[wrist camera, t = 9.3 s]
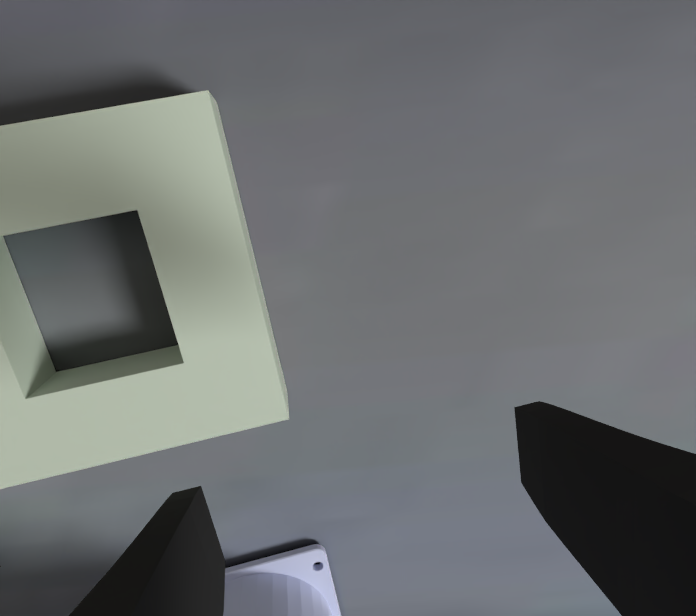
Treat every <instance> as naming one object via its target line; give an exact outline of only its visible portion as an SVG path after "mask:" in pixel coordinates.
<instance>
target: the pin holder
mask: <svg viewBox="0 0 696 616" xmlns="http://www.w3.org/2000/svg"><path fill="white" fill-rule="evenodd" d="M134 210H137V211H138V214H139V217H140V221H141V224H142V227H143V230H144V234H145V237H146V240H147V244H148V247H149V250H150V253H151V257H152V260H153V263H154V266H155V270H156V273H157V276H158V279H159V283H160V286H161V289H162V293H163V296H164V299H165V302H166V306H167V309H168V312H169V315H170V319H171V322H172V325H173V329H174V332H175V335H176V338H177V342H178V345H176V346H171V347H167V348H162V349H158V350H153V351H149V352H144V353H140V354H135V355H131V356H126V357H122V358H117V359H113V360H108V361H104V362H99V363H94V364H90V365H85V366H81V367H76V368H72V369H67V370H63V371H58V372H56V370H55V368H54V365H53V363H52V360H51V358H50V355H49V353H48V350H47V347H46V345H45V342H44V340H43V337H42V335H41V332H40V330H39V327H38V324H37V322H36V319H35V317H34V314H33V312H32V309H31V307H30V304H29V301H28V299H27V296H26V294H25V291H24V289H23V286H22V284H21V281H20V278H19V276H18V273H17V271H16V268H15V266H14V263H13V261H12V258H11V255H10V253H9V250H8V248H7V245H6V243H5V240H4V238H3V236H4V235H10V234H15V233H20V232H25V231H30V230H36V229H41V228H46V227H51V226H56V225H62V224H67V223H72V222H77V221H82V220H87V219H93V218H98V217H103V216H108V215H113V214H119V213H124V212H129V211H134ZM287 419H289V410H288V395H287V389H286V385H285V381H284V376H283V372H282V368H281V364H280V360H279V356H278V352H277V348H276V344H275V339H274V335H273V331H272V327H271V323H270V319H269V315H268V311H267V307H266V302H265V298H264V294H263V290H262V286H261V282H260V278H259V274H258V270H257V265H256V261H255V257H254V253H253V249H252V245H251V241H250V237H249V233H248V228H247V224H246V220H245V216H244V212H243V208H242V204H241V200H240V196H239V191H238V187H237V183H236V179H235V175H234V171H233V167H232V163H231V159H230V154H229V150H228V146H227V142H226V138H225V134H224V130H223V126H222V122H221V117H220V113H219V109H218V105H217V102H216V101H215V99H214V98H213V97H212V95H211V94H210V92H209V91H208V90H207V91H201V92H195V93H189V94H184V95H178V96H172V97H166V98H160V99H154V100H148V101H143V102H137V103H131V104H125V105H119V106H113V107H108V108H102V109H96V110H90V111H84V112H78V113H72V114H67V115H61V116H55V117H49V118H43V119H37V120H31V121H26V122H20V123H14V124H8V125H2V126H0V489H3V488H7V487H11V486H15V485H19V484H23V483H27V482H32V481H36V480H40V479H44V478H48V477H52V476H56V475H60V474H65V473H69V472H73V471H77V470H81V469H85V468H89V467H93V466H98V465H102V464H106V463H110V462H114V461H118V460H122V459H127V458H131V457H135V456H139V455H143V454H147V453H151V452H155V451H160V450H164V449H168V448H172V447H176V446H180V445H184V444H188V443H193V442H197V441H201V440H205V439H209V438H213V437H217V436H221V435H226V434H230V433H234V432H238V431H242V430H246V429H250V428H254V427H259V426H263V425H267V424H271V423H275V422H279V421H283V420H287Z"/></svg>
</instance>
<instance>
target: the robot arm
mask: <svg viewBox="0 0 696 616" xmlns="http://www.w3.org/2000/svg"><path fill="white" fill-rule="evenodd" d="M515 418H516V429H517V440H518V451H519V462H520V473H521V483H522V484H523V486H524V488H525V489H526V491H527V492H528V494H529V496H530V497H531V499H532V501H533V502H534V504H535V506H536V507H537V509H538V510H539V512H540V513H541V515H542V516H543V518H544V520H545V521H546V522H547V524H548V525H549V526H550V527H551V529H552V530H553V531H554V533H555V534H556V535H557V536H558V538H559V539H560V540H561V541H562V543H563V544H564V545H565V546H566V547H567V549H568V550H569V551H570V552H571V554H572V555H573V556H574V557H575V559H576V560H577V561H578V562H579V563H580V565H581V566H582V567H583V568H584V570H585V571H586V572H587V573H588V574H589V576H590V577H591V578H592V579H593V581H594V582H595V583H596V584H597V586H598V587H599V588H600V589H601V590H602V592H603V593H604V594H605V595H606V597H607V598H608V599H609V600H610V601H611V603H612V604H613V605H614V606H615V608H616V609H617V610H618V611H619V613H620V614H621V615H622V616H696V454H694V453H690V452H687V451H684V450H680V449H677V448H674V447H671V446H667V445H664V444H661V443H658V442H655V441H652V440H649V439H646V438H643V437H640V436H637V435H634V434H631V433H628V432H625V431H623V430H620V429H617V428H614V427H611V426H609V425H606V424H603V423H601V422H598V421H595V420H592V419H590V418H587V417H584V416H582V415H579V414H576V413H574V412H571V411H568V410H565V409H562V408H560V407H557V406H554V405H551V404H547V403H544V402H540V401H538V402H534V403H530V404H526V405H522V406H518V407H515ZM316 562H321V563H320V564H318V565H315V564H314V563H316ZM69 616H341V612H340V608H339V604H338V600H337V596H336V592H335V588H334V584H333V579H332V575H331V571H330V567H329V563H328V559H327V555H326V551H325V548H324V547H323V546H322V545H319V544H313V545H310V546H306V547H302V548H298V549H295V550H291V551H287V552H284V553H280V554H276V555H272V556H269V557H265V558H261V559H258V560H254V561H250V562H247V563H243V564H239V565H235V566H232V567H228V568H225V559H224V556H223V553H222V550H221V547H220V543H219V540H218V537H217V534H216V531H215V528H214V525H213V522H212V519H211V516H210V512H209V509H208V506H207V503H206V500H205V497H204V494H203V491H202V488H201V486H199V487H195V488H191V489H187V490H183V491H179V492H175V493H172V494H171V495H170V497H169V498H168V499H167V500H166V501H165V502H164V504H163V505H162V506H161V507H160V508H159V510H158V511H157V512H156V513H155V515H154V516H153V517H152V518H151V520H150V521H149V522H148V523H147V525H146V526H145V527H144V528H143V530H142V531H141V532H140V533H139V535H138V536H137V537H136V538H135V540H134V541H133V542H132V543H131V545H130V546H129V547H128V548H127V549H126V551H125V552H124V553H123V554H122V556H121V557H120V558H119V559H118V560H117V562H116V563H115V564H114V565H113V566H112V568H111V569H110V570H109V571H108V572H107V573H106V575H105V576H104V577H103V578H102V579H101V580H100V581H99V582H98V584H97V585H96V586H95V587H94V588H93V589H92V590H91V591H90V593H89V594H88V595H87V596H86V597H85V598H84V599H83V600H82V602H81V603H80V604H79V605H78V606H77V607H76V608H75V610H74V611H73V612H72V613H71V614H70V615H69Z"/></svg>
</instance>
